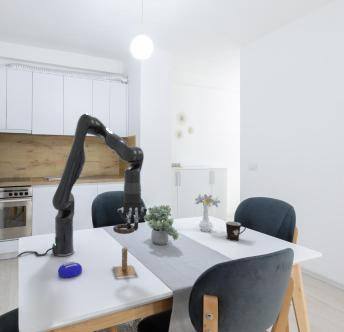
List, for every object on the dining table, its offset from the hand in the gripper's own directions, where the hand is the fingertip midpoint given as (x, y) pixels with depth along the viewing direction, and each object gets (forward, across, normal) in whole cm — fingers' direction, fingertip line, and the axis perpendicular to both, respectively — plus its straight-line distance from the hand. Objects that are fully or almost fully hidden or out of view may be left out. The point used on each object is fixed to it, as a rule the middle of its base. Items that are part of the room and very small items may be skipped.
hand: (132, 230), depth 109 cm
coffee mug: (+20, -73, -28) cm, 81 cm away
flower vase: (+20, -65, -50) cm, 84 cm away
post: (+19, +4, 0) cm, 20 cm away
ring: (-1, +4, 0) cm, 4 cm away
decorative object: (+19, +28, -3) cm, 34 cm away
